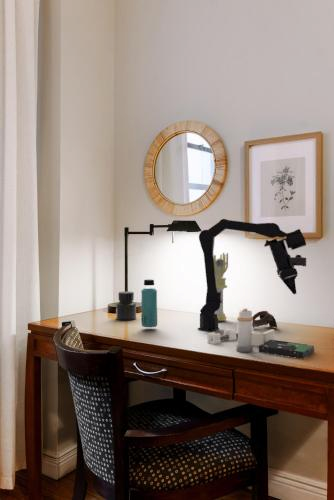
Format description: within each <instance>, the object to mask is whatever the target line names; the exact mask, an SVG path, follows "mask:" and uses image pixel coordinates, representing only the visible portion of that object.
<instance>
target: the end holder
mask: <svg viewBox="0 0 334 500" xmlns="http://www.w3.org/2000/svg"><path fill="white" fill-rule="evenodd" d="M269 340H275V329H269V330H267V331H264V332H262V333H261V332H255V331H254V329H253V326H252V346H253V347H254V346H255V347H259V345H261V344H264V343H265V342H267V341H269Z"/></svg>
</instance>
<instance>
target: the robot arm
mask: <svg viewBox="0 0 334 500" xmlns="http://www.w3.org/2000/svg"><path fill="white" fill-rule="evenodd" d="M225 230H231V231H238V232H239V231H240V232H246V233H254V234H257V235H260V236H264V237H267V238H270V239H272V240H268V239H266V240H265V243H264V245H263V247H269V249H270V253H271V255H272V257H273V261H274V263H275V266H276V273H277V276H278V277H279V278H280V280H281V281H282V282H283V283H284V285H285V286H286V287H287V289H288V290H289V291H290V292H291V293H292V294H293V295H296V294H297V287H296V278H297V277H298V270H297V268H295V266H302V267H307V257H303V256H302V255H301V254H296V255H295V256H294V257H292V256H291V255H290V254H289V252H288V249H290V250H292V251H294V250H297V249H300V248H302V247H305V246H307V242H306V239H305V236H304V235H303V233H302V231H301V229H300V228H298V229H296V230H294V231H291V232H287V233H286V232H285V231H283V230H281V229H280V226H279V224H277V223H275V222H263V223H259V222H258V223H254V222H247V221H238V220H232V219H226V218H222V219H220V220H219V221H218V222H216V224H214V225H212V226H211V227H210V228H208V229H203V230H202V231H200V233H199V234H198V240H199V244H200V248H201V250H202V253H203V260H204V270H205V280H206V293H205V294H206V296H205V304H204V305H203V306H202V307H201V309H200V310H199V312H200V313H199V327H198V328H197V330H200V331H206V332H214V331H216V330H219V329H220V327H219V321H218V318H217V314H215V311H217V310H218V309H219V308H220V305H221V303H222V301H223V302H224V299H223V300H222V297H221V295H222V291H219V292H218V289H217V285H216V275H215V265H214V255H215V254H214V249H215V238H216V237H217V236H218V235H220V234H221V233H222V232H224V231H225ZM277 237H278V238H281V239H279V240H278V238H277Z"/></svg>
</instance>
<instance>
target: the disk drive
mask: <svg viewBox="0 0 334 500" xmlns="http://www.w3.org/2000/svg"><path fill="white" fill-rule="evenodd" d="M313 352H314V353H315V347H314V345H312V344H311V345H310V344H306V343H299V342H292V341H285V340H276V339H274V340H269V341H267V342H265V343H264V344H261V345H259V346H258V353H261V354H268V353H269V354H270V355H274V354H276V356H281V355H283V356H282V357H287V356H289V357H288V358H293V357H296V358H295V359H300V358H303V359H302V360H305V359H306V357H307V356H308V357H309V356H311V355H313V354H314V353H313ZM310 354H311V355H310ZM308 357H307V358H308ZM304 358H305V359H304Z"/></svg>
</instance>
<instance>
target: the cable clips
mask: <svg viewBox="0 0 334 500" xmlns="http://www.w3.org/2000/svg"><path fill="white" fill-rule="evenodd" d="M236 333H237V330H235V329H234V330H232V329H231V328H228V329H224V330H223V336H225V335H229V338H228V339H226V340H225V341H235V340H237V337H236ZM220 336H221V333H216V332H214V331H211V332H209V333H207V344H211V345H217V344H218V345H219V344H221V341H220ZM212 338H213V341H212Z"/></svg>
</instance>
